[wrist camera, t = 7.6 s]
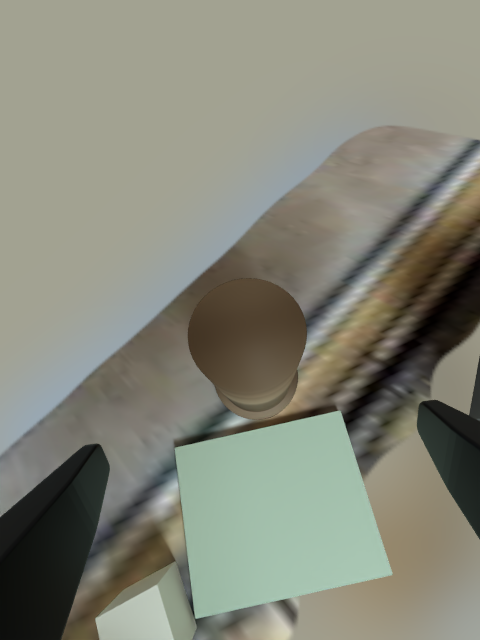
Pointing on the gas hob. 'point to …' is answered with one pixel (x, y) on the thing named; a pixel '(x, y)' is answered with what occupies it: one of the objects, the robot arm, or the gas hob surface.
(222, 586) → the tile
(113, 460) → the gas hob surface
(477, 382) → the box
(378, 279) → the gas hob surface
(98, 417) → the gas hob surface
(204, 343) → the brown cylinder
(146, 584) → the white cube
